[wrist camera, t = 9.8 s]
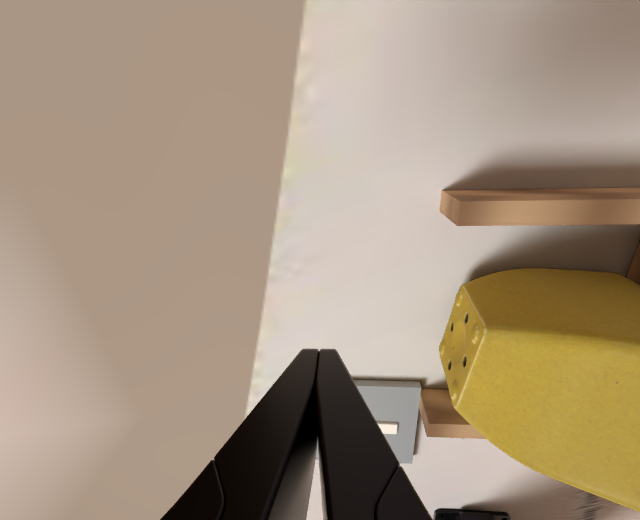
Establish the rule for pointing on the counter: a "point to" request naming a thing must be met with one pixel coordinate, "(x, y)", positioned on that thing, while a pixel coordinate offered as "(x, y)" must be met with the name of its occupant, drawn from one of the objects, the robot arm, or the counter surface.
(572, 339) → the flower pot
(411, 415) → the tile
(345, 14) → the counter surface
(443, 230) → the counter surface
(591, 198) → the wooden tray frame
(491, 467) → the counter surface
